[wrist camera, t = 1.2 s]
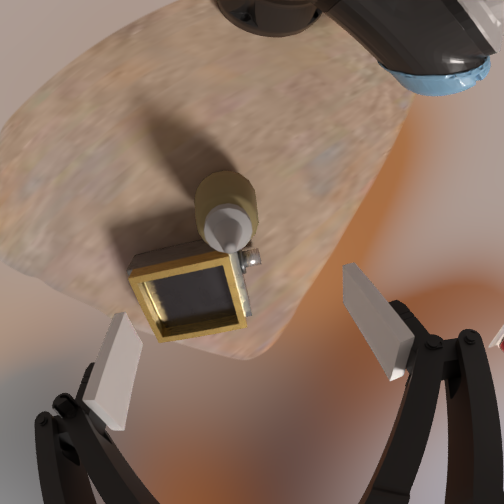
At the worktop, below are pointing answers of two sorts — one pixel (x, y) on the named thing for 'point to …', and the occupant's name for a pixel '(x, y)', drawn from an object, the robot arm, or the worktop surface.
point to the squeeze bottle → (226, 211)
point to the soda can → (502, 345)
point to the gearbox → (192, 289)
